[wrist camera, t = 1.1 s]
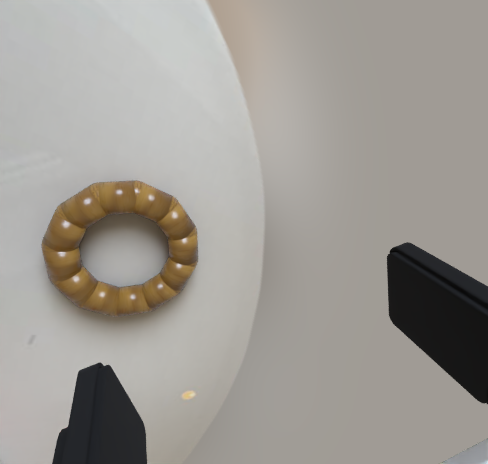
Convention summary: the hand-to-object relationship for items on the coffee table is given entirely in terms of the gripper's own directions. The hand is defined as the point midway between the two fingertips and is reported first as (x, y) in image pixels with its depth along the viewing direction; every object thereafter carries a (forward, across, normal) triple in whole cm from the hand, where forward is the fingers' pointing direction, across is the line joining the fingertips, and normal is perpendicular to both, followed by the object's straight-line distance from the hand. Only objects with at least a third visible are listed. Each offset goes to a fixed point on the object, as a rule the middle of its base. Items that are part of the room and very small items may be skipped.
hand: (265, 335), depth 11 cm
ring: (+14, +5, +2) cm, 15 cm away
